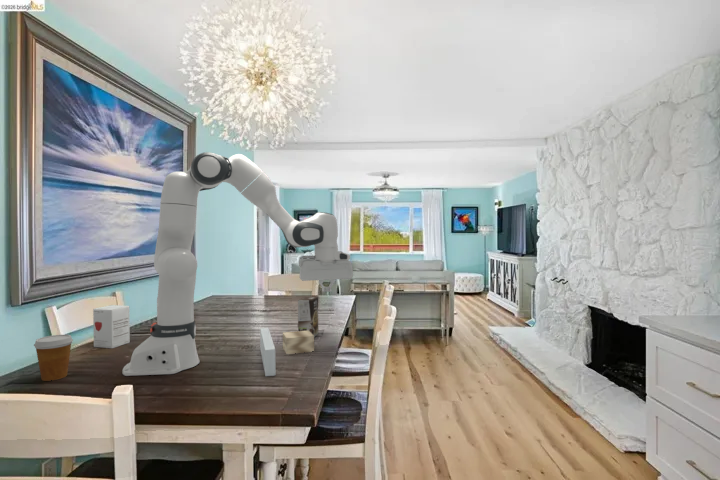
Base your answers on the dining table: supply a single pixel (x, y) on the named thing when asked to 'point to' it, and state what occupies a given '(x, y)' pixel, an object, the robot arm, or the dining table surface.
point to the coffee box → (308, 314)
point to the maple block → (298, 342)
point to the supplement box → (111, 326)
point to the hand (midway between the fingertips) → (326, 291)
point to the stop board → (267, 352)
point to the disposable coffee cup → (53, 356)
